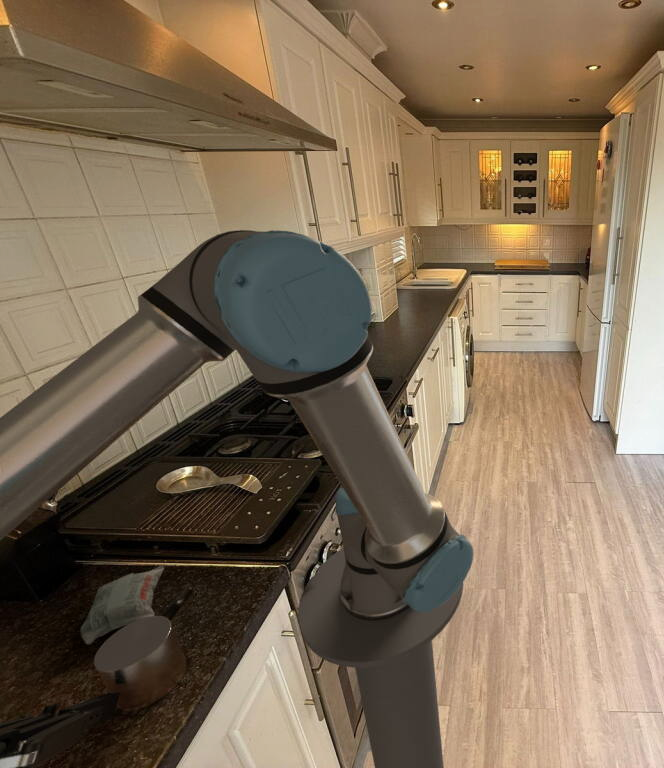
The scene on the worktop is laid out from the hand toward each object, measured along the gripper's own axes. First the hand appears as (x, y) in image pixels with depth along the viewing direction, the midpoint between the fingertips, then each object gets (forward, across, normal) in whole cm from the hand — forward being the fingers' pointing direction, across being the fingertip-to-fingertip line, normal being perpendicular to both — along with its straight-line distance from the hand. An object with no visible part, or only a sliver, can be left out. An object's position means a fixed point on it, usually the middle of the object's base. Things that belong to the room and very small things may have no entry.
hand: (110, 705), depth 52 cm
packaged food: (+15, -12, +10) cm, 22 cm away
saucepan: (+9, 0, +4) cm, 10 cm away
